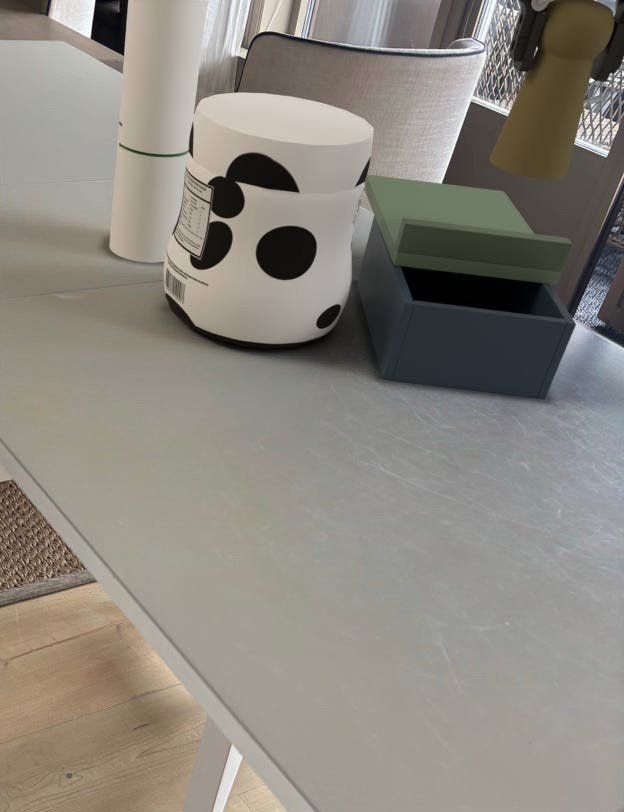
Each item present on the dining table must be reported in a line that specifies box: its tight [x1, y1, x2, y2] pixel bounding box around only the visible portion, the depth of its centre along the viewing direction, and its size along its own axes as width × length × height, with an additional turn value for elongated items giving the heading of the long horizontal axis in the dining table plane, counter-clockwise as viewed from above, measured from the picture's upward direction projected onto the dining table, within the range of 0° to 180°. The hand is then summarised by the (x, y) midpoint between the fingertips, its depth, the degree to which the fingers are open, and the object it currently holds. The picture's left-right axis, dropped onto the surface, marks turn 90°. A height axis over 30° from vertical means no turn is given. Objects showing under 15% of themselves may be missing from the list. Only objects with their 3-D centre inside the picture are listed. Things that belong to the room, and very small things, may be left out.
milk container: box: [163, 92, 375, 350], centre depth 87 cm, size 17×17×18 cm
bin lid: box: [364, 174, 573, 286], centre depth 95 cm, size 15×22×4 cm
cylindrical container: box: [109, 0, 209, 264], centre depth 95 cm, size 7×7×25 cm
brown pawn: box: [488, 0, 614, 180], centre depth 72 cm, size 6×6×11 cm
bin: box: [356, 214, 577, 400], centre depth 92 cm, size 15×22×8 cm
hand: (559, 73), depth 71 cm, fingers closed on brown pawn, 5 cm apart
